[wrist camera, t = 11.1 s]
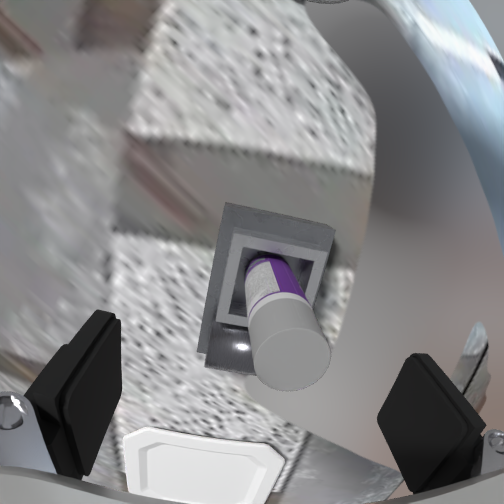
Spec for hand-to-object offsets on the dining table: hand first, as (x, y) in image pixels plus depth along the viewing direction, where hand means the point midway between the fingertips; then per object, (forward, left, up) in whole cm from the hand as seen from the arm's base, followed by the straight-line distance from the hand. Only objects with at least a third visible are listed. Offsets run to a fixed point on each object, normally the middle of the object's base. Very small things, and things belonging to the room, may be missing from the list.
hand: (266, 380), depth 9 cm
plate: (+42, +1, -26) cm, 49 cm away
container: (+4, +3, -22) cm, 23 cm away
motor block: (+6, +3, -25) cm, 26 cm away
